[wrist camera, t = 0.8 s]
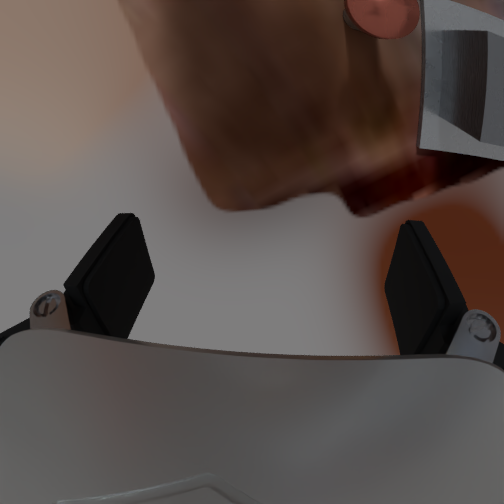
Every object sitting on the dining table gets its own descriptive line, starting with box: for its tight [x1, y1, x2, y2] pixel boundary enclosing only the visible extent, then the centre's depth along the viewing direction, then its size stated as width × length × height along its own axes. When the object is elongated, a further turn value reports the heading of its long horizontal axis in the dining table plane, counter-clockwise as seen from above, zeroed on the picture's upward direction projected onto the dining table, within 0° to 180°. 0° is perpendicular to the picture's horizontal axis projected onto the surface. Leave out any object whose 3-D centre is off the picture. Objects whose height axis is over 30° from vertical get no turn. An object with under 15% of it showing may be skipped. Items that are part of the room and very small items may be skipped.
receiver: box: [416, 0, 504, 161], centre depth 20 cm, size 18×14×10 cm
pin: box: [343, 0, 420, 39], centre depth 19 cm, size 6×6×10 cm
